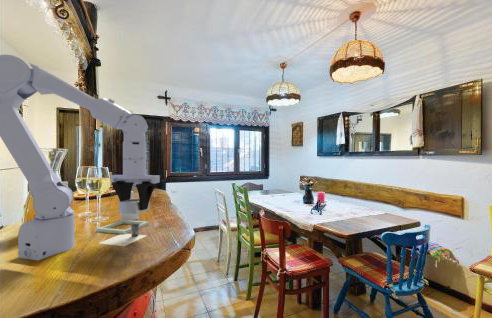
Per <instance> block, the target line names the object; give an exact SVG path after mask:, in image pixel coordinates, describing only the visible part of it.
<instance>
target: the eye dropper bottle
mask: <svg viewBox="0 0 492 318" xmlns="http://www.w3.org/2000/svg"><path fill="white" fill-rule="evenodd" d="M133 198H135V197H134V191H133V190H131V198H130V199H133ZM139 219H140V213H138V214H126V213H120V221H121V220H132V221H138V220H139Z"/></svg>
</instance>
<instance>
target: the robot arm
mask: <svg viewBox="0 0 492 318" xmlns="http://www.w3.org/2000/svg"><path fill="white" fill-rule="evenodd" d="M28 64H29V65H30V66H29V65H28ZM30 67H31V68H30ZM37 92H38V93H39V95H41V96H42V95H56V96H58V97H61V98H62V99H65V100H67V101H69V102H71V103H73V104H76V105H78V106H80V107H82V108H84V109H86V110H88V111H89V112H90V114H91V117H92V118H93V119H95V120H97V121H99V122H102V123H103V124H106V125H108V126H109V127H112V128H114V129H116V130H121V131H122V133H123V141H122V174H111V175H110V183H113V184H112V185H111V187H112V188H113V190H114V191H115V192H116V193H115V194H116V195H117V197H118V200H119V202H120V201H124V200H129V199H130V198H131V191H133V190H132V189H133V187H134V183H136V184H135V187H136V190H137V194H138V199H139V205H140V210H145V209H147V208H148V204H149V200H150V199H151V196H152V194H153V192H154V191H155V189H156V187H157V184H159V183H161V179H160V176H161V175H158V174H157V175H155V174H154V175H153V174H147V143H146V137H147V136H146V134H145V133H146V132H147V131H148V128H149V125H148V123H147V121H146V120H145V118H144V117H143V116H142V115H140V114H133V111H132V110H131V109H128V110H127V109H125V108H123V107H122V106H120V105H118V104H116V103H115V102H116V101H115V100H114V99H112V98H109V99H107V98H105V97H101V98H95V97H94V96H91V95H90V94H88V93H86V92H84V91H82V90H81V89H79V88H77V87H75V86H73V85H72V84H70V83H68V82H66V81H64V80H63V79H61V78H60V77H57V76H56V75H54V74H52V73H51V72H49V71H48V70H45V69H43V68H42V67H39V66H38V65H35V64H33V63H30V62H29V63H27V62H26V61H25V60H23V59H22V58H20V57H18V56H16V55H11V54H0V139H1V140H2V142H3V143H4V145H5V147H6V148H7V150H8V152H9V153H10V155H11V156H12V158H13V159H14V161H15V163H16V164H17V166H18V168H19V169H20V171H21V173H22V175H23V176H24V178H25V179H26V182H27V187H28V186H29V191H30V193H31V195H32V197H33V209H34V210H35V212H36V213H37V214H36V215H34V219H33V220H31V221H28V220H27V221H25V222H23V223H22V224H21V225H20V226H19V229H18V235H17V239H18V241H17V242H18V243H17V246H18V249H17V250H18V256H17V257H18V258H19V259H26V260H32V261H40V260H43V259H46V258H48V257H52V256H55V255H58V254H60V253H65V252H67V251H70V250H72V249H73V248H74V247H75V210H74V209H72V208H71V206H70V205H72V203H73V201H74V198H75V197H74V196H75V195H74V192H73V190H72V189H71V188H70V187H69V186H68V187H67V186H65V185H64V184H63V183H62V182H61V181H62V180H61V179H60V177H59V176H58V175H57V174H56V172H55V171H54V170H53V168H52V166H51V165H50V163H49V161H48V160H47V158H46V156H45V155H44V153H43V151H42V149H41V148H40V146H39V144H38V142H37V141H36V139H35V137H34V136H33V134H32V131H30V129H29V127H28V125H27V124H26V122H25V120H24V118H23V117H22V115H21V114H20V112H19V109H20V107H21V106H22V105H23V103H24V101H26V100H28V99H29V98H30V97H32V96H33V95H35V94H36V93H37ZM150 201H151V200H150Z"/></svg>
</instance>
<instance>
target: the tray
mask: <svg viewBox="0 0 492 318" xmlns="http://www.w3.org/2000/svg"><path fill="white" fill-rule="evenodd" d="M131 223H140V225H139V229H142V228H144V227H146V226H148V225H149V224H150V223H149V221H143V220H142V221H140V220H121V219H120V220H118V221H116V222H113V223H109V224H107V225H104V226H100V227H97V228H96V232H98V233H106V234H107V233H109V234H117V235H120V234H130V233H132V230H131V227H127V228H126V229H118V228H114V227H116V226H120V225H123V224H127V225H131Z"/></svg>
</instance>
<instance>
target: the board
mask: <svg viewBox="0 0 492 318" xmlns="http://www.w3.org/2000/svg"><path fill="white" fill-rule="evenodd" d="M145 237H147V234H146V235H145V234H144V235H143V234H139V236H137V237H132V233H126V234H117V235H115V236H112V237H109V238H108V239H105V240H102V241H100V242H98V244H99V245H108V246H109V245H110V246H118V247H126V246H129V245H130V244H132V243H134V242H137V241H139V240H141V239H143V238H145Z"/></svg>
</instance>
